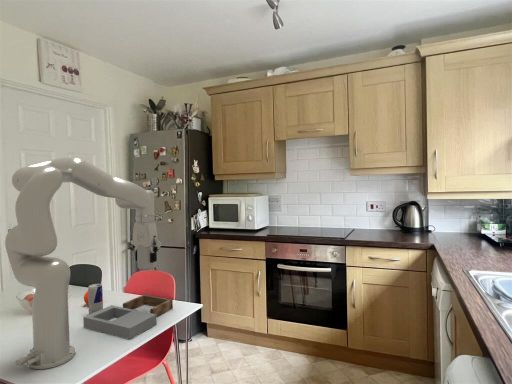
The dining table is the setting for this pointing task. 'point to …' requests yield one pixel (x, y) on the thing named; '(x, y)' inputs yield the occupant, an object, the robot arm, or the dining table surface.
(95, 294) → the energy drink
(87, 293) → the clementine
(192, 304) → the dining table surface
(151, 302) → the cubby
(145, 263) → the can
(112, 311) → the hole board
